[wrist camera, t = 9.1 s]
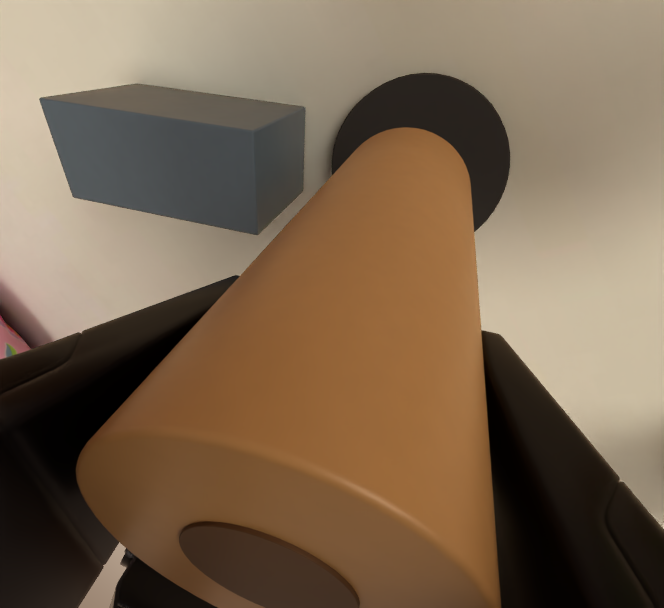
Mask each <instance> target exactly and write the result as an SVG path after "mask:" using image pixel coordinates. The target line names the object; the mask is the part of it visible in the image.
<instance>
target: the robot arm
mask: <svg viewBox="0 0 664 608" xmlns="http://www.w3.org/2000/svg"><path fill="white" fill-rule="evenodd" d="M238 278H239V276H238V275H235V276H232V277H229V278H227V279H224V280H221V281H218V282H216V283H213V284H210V285H207V286H205V287H202V288H199V289H196V290H194V291H191V292H188V293H185V294H183V295H180V296H177V297H174V298H172V299H169V300H166V301H163V302H161V303H158V304H155V305H152V306H150V307H147V308H144V309H142V310H139V311H136V312H133V313H131V314H128V315H125V316H122V317H120V318H117V319H114V320H111V321H109V322H106V323H103V324H100V325H98V326H95V327H92V328H89V329H87V330H84V331H83V332H82V334H81V333H75V334H73V335H70V336H67V337H65V338H62V339H59V340H56V341H54V342H51V343H48V344H45V345H42V346H39V347H36V348H33V349H31V350H28V351H25V352H22V353H18V354H15V355H12V356H9V357H6V358H3V359H0V608H78V607H79V605H80V604H81V602H82V601H83V599H84V598H85V596H86V594H87V593H88V591H89V590H90V588H91V586H92V585H93V583H94V582H95V580H96V579H97V577H98V576H99V574H100V572H101V571H102V569H103V565H104V564H106V562H107V561H108V559H109V558H110V556H111V555H112V553H113V551H114V550H115V548H116V546H117V545H118V543H119V541H118V540H117V539H116V538H115V537H114V536H113V535H112V534H111V533H110V532H109V531H108V530H107V529H106V528H105V527H104V526H103V524H102V523H101V522H100V521H99V520H98V519H97V517H96V516H95V514H94V513H93V512H92V510H91V509H90V508H89V506H88V505H87V503H86V501H85V499H84V498H83V496H82V494H81V492H80V489H79V486H78V483H77V478H76V466H77V461H78V458H79V455H80V453H81V451H82V450H83V448H84V446H85V445H86V443H87V442H88V441H89V440H90V439H91V438H92V437H93V436H94V434H95V433H96V432H97V431H98V430H99V429H100V428H101V427H102V426H103V425H104V424H105V422H106V421H107V420H108V419H109V418H110V417H111V416H112V415H113V414H114V413H115V412H116V410H117V409H118V408H119V407H120V406H121V405H122V404H123V403H124V402H125V401H126V400H127V399H128V397H129V396H130V395H131V394H132V393H133V392H134V391H135V390H136V389H137V388H138V387H139V385H140V384H141V383H142V382H143V381H144V380H145V379H146V378H147V377H148V376H149V375H150V373H151V372H152V371H153V370H154V369H155V368H156V367H157V366H158V365H159V364H160V363H161V361H162V360H163V359H164V358H165V357H166V356H167V355H168V354H169V353H170V352H171V351H172V349H173V348H174V347H175V346H176V345H177V344H178V343H179V342H180V341H181V340H182V339H183V337H184V336H185V335H186V334H187V333H188V332H189V331H190V330H191V329H192V328H193V327H194V326H195V324H196V323H197V322H198V321H199V320H200V319H201V318H202V317H203V316H204V315H205V314H206V312H207V311H208V310H209V309H210V308H211V307H212V306H213V305H214V304H215V303H216V302H217V300H218V299H219V298H220V297H221V296H222V295H223V294H224V293H225V292H226V291H227V290H228V288H229V287H230V286H231V285H232V284H233V283H234V282H235V281H236V280H237V279H238ZM481 335H482V348H483V362H484V376H485V390H486V404H487V418H488V431H489V445H490V459H491V473H492V487H493V501H494V514H495V528H496V542H497V556H498V570H499V584H500V598H501V608H664V529H663V528H662V527H661V526H660V524H659V523H658V522H657V521H656V520H655V519H654V518H653V516H652V515H651V514H650V513H649V512H648V511H647V509H646V508H645V507H644V506H643V505H642V504H641V502H640V501H639V500H638V499H637V498H636V496H635V495H634V494H633V493H632V492H631V490H630V489H629V488H628V487H627V486H626V484H625V483H624V482H619V480H620V478H619V476H618V475H617V474H616V473H615V471H614V470H613V469H612V468H611V467H610V465H609V464H608V463H607V462H606V461H605V459H604V458H603V457H602V456H601V455H600V453H599V452H598V451H597V450H596V449H595V447H594V446H593V445H592V444H591V443H590V441H589V440H588V439H587V438H586V437H585V435H584V434H583V433H582V432H581V431H580V429H579V428H578V427H577V426H576V425H575V423H574V422H573V421H572V420H571V419H570V417H569V416H568V415H567V414H566V413H565V411H564V410H563V409H562V408H561V407H560V405H559V404H558V403H557V402H556V401H555V399H554V398H553V397H552V396H551V395H550V393H549V392H548V391H547V390H546V389H545V387H544V386H543V385H542V384H541V383H540V381H539V380H538V379H537V378H536V377H535V375H534V374H533V373H532V372H531V371H530V369H529V368H528V367H527V366H526V365H525V363H524V362H523V361H522V360H521V359H520V357H519V356H518V355H517V354H516V353H515V351H514V350H513V349H512V348H511V347H510V345H509V344H508V343H507V342H506V341H505V339H504V338H503V337H502V336H501V335H499V334H496V333H492V332H487V331H482V330H481ZM121 565H123V566H125V567H126V570H125V572H124V573H123V575H122V576H121V578H120V580H119V581H118V584H117V586H116V589H115V592H114V595H113V598H112V601H111V604H110V608H218V607H216V606H214V605H212V604H210V603H208V602H206V601H204V600H203V599H201V598H199V597H197V596H195V595H194V594H192V593H190V592H188V591H187V590H185V589H183V588H182V587H180V586H178V585H177V584H175V583H174V582H172V581H170V580H169V579H167V578H166V577H164V576H163V575H161V574H160V573H158V572H157V571H155V570H154V569H153V568H151V567H150V566H148V565H147V564H146V563H144V562H143V561H142V560H140V559H139V558H138V557H137V556H135V555H134V554H133V553H132V552H130V551H129V550H128V549H127V548H126V550H125V555H124V557H123V559H122V561H121Z"/></svg>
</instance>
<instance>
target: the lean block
mask: <svg viewBox="0 0 664 608" xmlns="http://www.w3.org/2000/svg"><path fill="white" fill-rule="evenodd" d="M39 100H40V103H41V106H42V109H43V112H44V115H45V117H46V120H47V123H48V126H49V129H50V132H51V135H52V138H53V141H54V143H55V146H56V149H57V152H58V155H59V158H60V161H61V164H62V167H63V169H64V172H65V175H66V178H67V181H68V184H69V187H70V190H71V193H72V195H73V197H74V198H79V199H83V200H88V201H93V202H98V203H103V204H108V205H113V206H118V207H122V208H127V209H132V210H137V211H142V212H147V213H152V214H157V215H161V216H166V217H171V218H176V219H181V220H186V221H191V222H196V223H200V224H205V225H210V226H215V227H220V228H225V229H230V230H235V231H239V232H244V233H249V234H254V235H258V234H259V233H260V232H261V231H262V230H263V229H264V228H266V227H267V226H268V225H269V224H270V223H271V222H272V221H273V220H274V219H275V218H276V217H277V216H278V215H279V214H280V213H281V212H282V211H283V210H284V209H285V208H286V207H287V206H288V205H289V204H290V203H291V202H292V201H293V200H294V199H295V198H296V197H297V196H298V195H299V194H300V193H301V192H302V191H303V169H304V137H305V107H302V106H295V105H288V104H280V103H273V102H266V101H259V100H251V99H244V98H237V97H230V96H222V95H215V94H208V93H201V92H193V91H186V90H179V89H172V88H164V87H157V86H150V85H143V84H131V85H124V86H117V87H110V88H103V89H97V90H90V91H83V92H76V93H69V94H63V95H56V96H49V97H42V98H40V99H39Z"/></svg>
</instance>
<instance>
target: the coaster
mask: <svg viewBox="0 0 664 608" xmlns="http://www.w3.org/2000/svg"><path fill="white" fill-rule="evenodd" d="M404 127H408V128H418V129H423V130H426V131H429V132H432V133H434V134H436V135H438V136H440V137H441V138H443V139H444V140H446V141H447V142H448V143H450V144H451V145H452V146H453V147H454V149H455V150H456V151H457V152H458V153H459V155H460V156H461V158H462V159H463V161H464V163H465V165H466V168H467V170H468V173H469V178H470V183H471V196H472V210H473V224H474V232H475V231H476V230H477V229H478V228H479V227H480V226H481V225H482V224H483V223H484V222H485V221H486V220H487V219H488V218H489V216H490V215H491V214H492V213H493V211H494V210H495V208H496V206H497V205H498V203H499V201H500V199H501V197H502V194H503V192H504V190H505V186H506V183H507V180H508V174H509V168H510V150H509V142H508V138H507V134H506V131H505V128H504V125H503V123H502V121H501V119H500V117H499V115H498V113H497V112H496V110H495V109H494V107H493V106H492V104H491V103H490V102H489V101H488V100H487V99H486V98H485V97H484V95H482V94H481V93H480V92H479V91H477V90H476V89H475V88H474V87H472V86H470V85H469V84H467V83H465V82H463V81H461V80H459V79H456V78H453V77H450V76H446V75H441V74H435V73H419V74H410V75H406V76H402V77H398V78H396V79H393V80H391V81H388V82H386V83H384V84H383V85H381V86H379V87H377V88H376V89H374V90H373V91H371V92H370V93H369V94H368V95H366V96H365V97H364V98H363V99H362V100H361V101H360V102H359V103H358V104H357V105H356V106H355V107H354V108H353V109H352V111H351V112H350V113H349V115H348V116H347V118H346V119H345V121H344V123H343V125H342V126H341V129H340V131H339V133H338V136H337V138H336V142H335V145H334V149H333V156H332V175H333V174H334V173H335V172H336V171H337V170H338V169H339V168H340V166H341V165H342V164H343V163H344V162H345V161H346V160H347V159H348V158H349V157H350V156H351V154H352V153H353V152H354V151H355V150H356V149H357V148H358V147H359V146H360V145H361V144H362V143H363V142H365V141H366V140H368V139H369V138H370V137H372V136H374V135H376V134H378V133H381V132H383V131H386V130H390V129H394V128H404Z"/></svg>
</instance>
